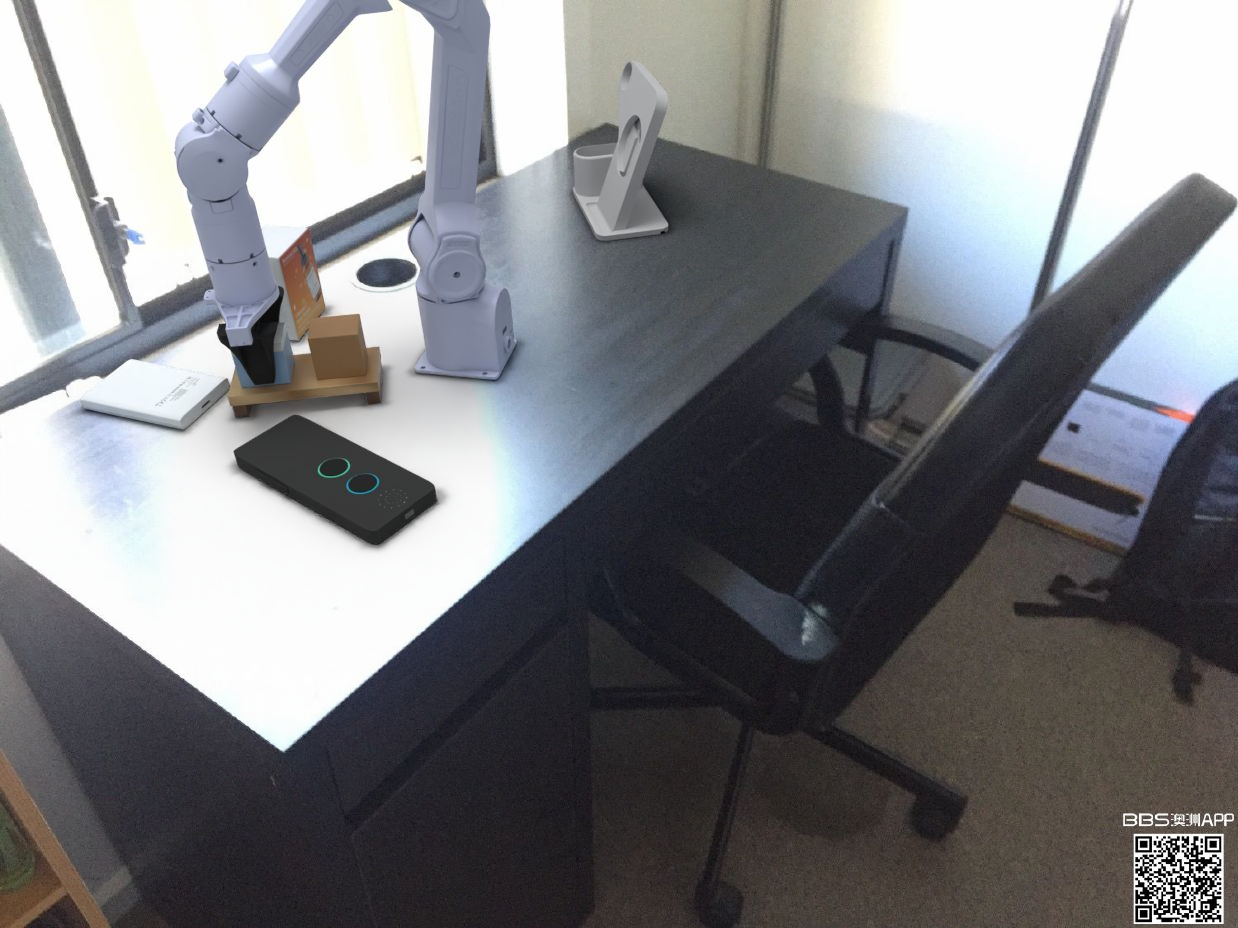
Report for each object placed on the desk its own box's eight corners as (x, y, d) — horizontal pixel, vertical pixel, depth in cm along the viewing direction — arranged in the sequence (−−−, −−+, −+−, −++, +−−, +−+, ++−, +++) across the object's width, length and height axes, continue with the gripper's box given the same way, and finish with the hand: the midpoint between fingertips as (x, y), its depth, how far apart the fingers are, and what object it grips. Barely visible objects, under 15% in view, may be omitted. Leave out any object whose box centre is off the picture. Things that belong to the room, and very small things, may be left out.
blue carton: (295, 361, 111) (285, 321, 108) (291, 383, 108) (281, 343, 105) (246, 366, 111) (235, 326, 108) (241, 388, 108) (229, 348, 105)
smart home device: (371, 533, 91) (228, 451, 101) (375, 547, 92) (232, 465, 102) (439, 483, 96) (296, 410, 106) (441, 498, 97) (300, 424, 107)
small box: (298, 342, 120) (278, 258, 113) (253, 338, 121) (230, 255, 114) (327, 308, 126) (310, 226, 119) (284, 304, 127) (264, 223, 120)
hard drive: (135, 369, 116) (231, 388, 113) (83, 410, 110) (183, 431, 107) (131, 357, 115) (227, 375, 112) (78, 398, 109) (178, 418, 106)
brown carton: (367, 354, 112) (359, 313, 109) (366, 375, 109) (357, 334, 106) (319, 358, 112) (310, 317, 109) (317, 380, 108) (307, 338, 105)
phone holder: (570, 189, 151) (564, 61, 140) (639, 181, 153) (637, 54, 142) (597, 242, 138) (593, 105, 127) (672, 232, 140) (673, 96, 129)
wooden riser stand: (383, 368, 115) (379, 346, 113) (382, 404, 110) (377, 381, 108) (242, 382, 114) (236, 360, 112) (234, 419, 108) (227, 396, 106)
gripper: (203, 221, 106) (236, 337, 114) (178, 290, 95) (217, 413, 103) (275, 215, 107) (303, 331, 115) (258, 283, 95) (290, 406, 104)
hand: (267, 369), depth 109 cm, fingers closed on blue carton, 4 cm apart
